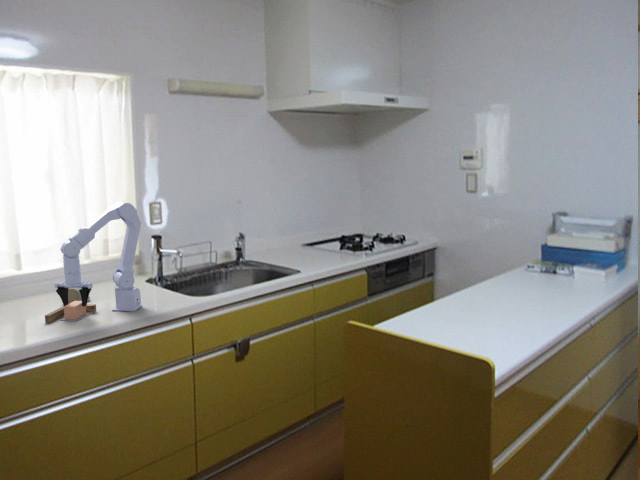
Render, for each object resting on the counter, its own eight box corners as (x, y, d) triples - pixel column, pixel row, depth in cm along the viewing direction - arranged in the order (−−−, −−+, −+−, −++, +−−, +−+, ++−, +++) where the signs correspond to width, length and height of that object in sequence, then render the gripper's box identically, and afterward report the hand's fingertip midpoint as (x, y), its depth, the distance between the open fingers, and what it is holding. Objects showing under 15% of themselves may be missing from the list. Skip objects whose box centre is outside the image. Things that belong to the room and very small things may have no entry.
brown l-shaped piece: (96, 311, 224) (95, 304, 224) (75, 323, 208) (74, 316, 208) (68, 310, 225) (67, 303, 225) (45, 323, 210) (44, 315, 209)
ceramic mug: (62, 305, 234) (60, 287, 233) (65, 300, 242) (64, 283, 240) (88, 303, 236) (87, 286, 235) (91, 298, 244) (90, 281, 243)
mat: (90, 313, 222) (90, 312, 222) (77, 321, 212) (77, 319, 212) (74, 312, 223) (74, 311, 222) (60, 320, 213) (60, 319, 213)
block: (75, 319, 213) (74, 306, 212) (64, 319, 213) (63, 306, 212) (86, 313, 221) (85, 301, 220) (75, 312, 221) (74, 300, 220)
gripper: (48, 274, 211) (52, 308, 213) (84, 274, 210) (87, 309, 212) (59, 270, 218) (62, 303, 220) (94, 270, 217) (96, 303, 219)
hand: (75, 305), depth 217 cm, fingers open, 7 cm apart
